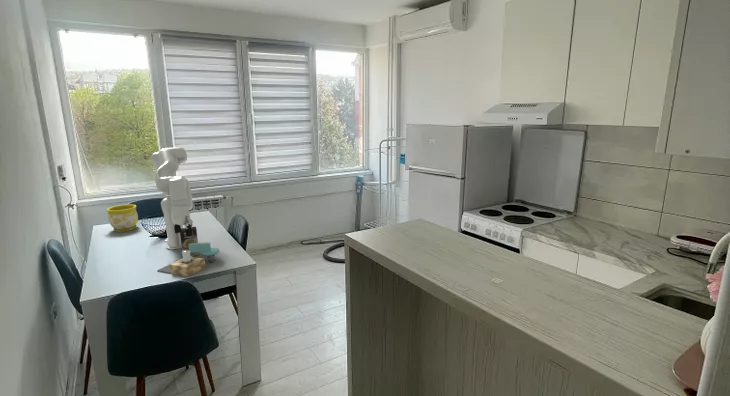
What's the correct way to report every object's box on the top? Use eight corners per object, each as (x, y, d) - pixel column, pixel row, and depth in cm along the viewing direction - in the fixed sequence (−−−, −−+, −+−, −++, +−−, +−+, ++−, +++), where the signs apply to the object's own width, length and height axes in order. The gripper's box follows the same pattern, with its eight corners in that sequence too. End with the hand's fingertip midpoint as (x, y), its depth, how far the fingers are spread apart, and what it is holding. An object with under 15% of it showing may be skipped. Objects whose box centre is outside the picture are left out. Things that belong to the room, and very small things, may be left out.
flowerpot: (136, 223, 283) (133, 203, 279) (142, 229, 270) (138, 207, 266) (108, 229, 271) (104, 207, 267) (113, 235, 258) (109, 212, 254)
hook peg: (183, 271, 198) (180, 251, 196) (188, 268, 202) (185, 249, 199) (188, 272, 197) (185, 252, 194) (194, 269, 200) (191, 250, 198)
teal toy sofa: (221, 257, 216) (219, 239, 213) (218, 263, 207) (216, 244, 205) (193, 259, 214) (191, 241, 211) (189, 265, 205) (186, 247, 202)
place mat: (157, 271, 198) (157, 270, 198) (171, 264, 207) (170, 263, 206) (170, 273, 195) (169, 272, 195) (183, 266, 204) (183, 265, 203)
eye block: (170, 273, 196) (169, 264, 195) (188, 264, 207) (187, 256, 206) (188, 276, 192) (187, 267, 191) (205, 267, 203) (204, 258, 201)
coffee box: (182, 257, 216) (179, 231, 212) (182, 254, 222) (178, 228, 218) (199, 254, 220) (196, 228, 216) (199, 251, 226) (195, 225, 222)
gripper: (162, 202, 192) (167, 233, 196) (182, 205, 183) (186, 238, 187) (176, 199, 198) (180, 229, 202) (196, 202, 189) (200, 234, 193)
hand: (183, 234), depth 194 cm, fingers open, 9 cm apart
